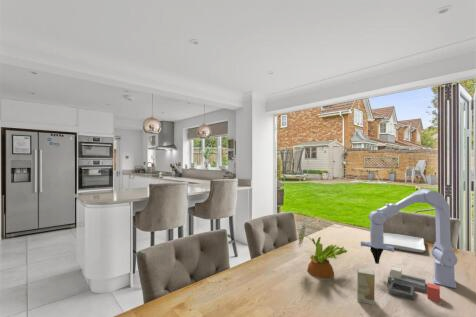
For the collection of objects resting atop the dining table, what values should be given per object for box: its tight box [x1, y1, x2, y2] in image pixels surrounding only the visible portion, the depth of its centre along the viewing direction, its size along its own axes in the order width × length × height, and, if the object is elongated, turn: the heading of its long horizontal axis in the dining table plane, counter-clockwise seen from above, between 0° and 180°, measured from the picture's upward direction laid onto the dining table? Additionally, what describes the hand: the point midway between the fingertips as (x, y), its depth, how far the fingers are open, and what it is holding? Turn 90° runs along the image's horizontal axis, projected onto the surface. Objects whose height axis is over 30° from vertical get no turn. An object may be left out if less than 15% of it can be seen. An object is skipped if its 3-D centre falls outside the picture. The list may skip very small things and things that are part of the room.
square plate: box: [383, 232, 427, 254], centre depth 169 cm, size 27×27×4 cm
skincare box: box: [356, 267, 376, 305], centre depth 103 cm, size 6×4×12 cm
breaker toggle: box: [390, 266, 403, 279], centre depth 119 cm, size 4×4×4 cm
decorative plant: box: [297, 223, 348, 279], centre depth 128 cm, size 27×24×25 cm
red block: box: [426, 282, 441, 302], centre depth 104 cm, size 4×4×5 cm
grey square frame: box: [388, 281, 415, 301], centre depth 109 cm, size 8×8×2 cm
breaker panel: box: [387, 270, 426, 293], centre depth 117 cm, size 10×14×2 cm
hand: (377, 263), depth 124 cm, fingers closed
